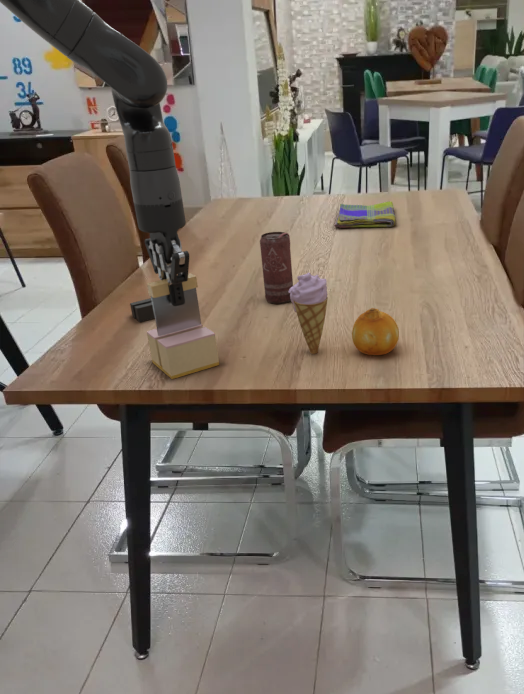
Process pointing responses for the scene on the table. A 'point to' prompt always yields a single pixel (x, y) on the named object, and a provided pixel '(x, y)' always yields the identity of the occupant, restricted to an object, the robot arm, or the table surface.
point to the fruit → (375, 332)
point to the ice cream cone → (310, 307)
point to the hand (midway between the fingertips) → (175, 302)
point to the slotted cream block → (183, 351)
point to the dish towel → (366, 215)
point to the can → (276, 266)
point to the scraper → (170, 315)
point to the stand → (142, 310)
